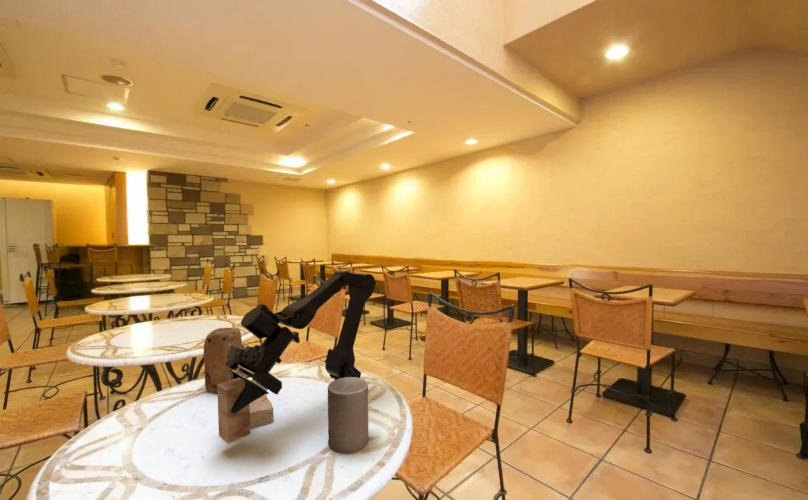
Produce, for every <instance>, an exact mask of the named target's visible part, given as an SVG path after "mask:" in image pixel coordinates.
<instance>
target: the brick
mask: <svg viewBox="0 0 808 500" xmlns="http://www.w3.org/2000/svg"><path fill="white" fill-rule="evenodd" d="M272 423H274V407H273V404H272V402H271V401H270V399H269V398H268V394H265V395H263V396H262V397H260V398H258V399H256V400H255V401H253V402H252V403H250V430H252V429H254V428H258V427H262V426H266V425H270V424H272Z"/></svg>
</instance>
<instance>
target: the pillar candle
mask: <svg viewBox="0 0 808 500" xmlns="http://www.w3.org/2000/svg"><path fill="white" fill-rule="evenodd" d="M327 423H328V426H327V427H328V430H327V434H328V439H327V445H328V447H329V449H331V450H332V451H334V452H336V453H338V454H339V453H340V454H351V453H355V452H358V451H360V450H362V449H364V448H365V447H366V446H367V444H368V443H369V442H368V441H369V383H368V382H367V380H366V379H365V378H361V377H360V378H357V377H345V378H340V379H337V380H335V379H334V380H332V381H331V382H330V383H329V384H328V385H327Z"/></svg>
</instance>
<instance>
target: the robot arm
mask: <svg viewBox="0 0 808 500" xmlns="http://www.w3.org/2000/svg"><path fill="white" fill-rule="evenodd" d="M376 284H377V280H376V279H375V277H374V275H373V274H372V273H371V274H370V273H358V272H356V273H352V272H349V271H345V270H344V271H343V270H337V271H335V272H334V273H333V274H332V275H331V277H329V278H328V279H326V280H325V281H324V282H323V283H321V285H319V286H317V288H316V289H314V290H313V291H312V292H311V293H309V294H308V295H306V296H305V297H304V298H301V299H299V300H296V301H293V302H292V303H290V304H288V305H286V306H285V307H284V308H283V309H281V311H277V312H275V313H274V312H272V310H270V309H269V307H268V306H267V305H266V304H264V303H259V304H258V305H257V306H256V307H253V308H252V309H251V310H249V311H248V312H246V313H245V315H244V316H242V319H241V320H240V326H241V327H243V328H244V329H245V330H247V331H248V332H249V333H251V334H252V335H253V336H255V338H258V339H259V340H261V339H264V340H263V341H262V342H261V344H260V345H259V344H255V345H254V346H249V345H246V346H245V347H243V346H242V347H239V346H235V345H231V347H230V349H229V352H228V354H227V356H226V359H229V360H228V361H227V363H226V364H225V365H226V366H227V367H229V368H231V369H232V370H230V369H229V372H230V378H231V380H233V379H236V378H241V379H243V380H245V388H244V390H243V391H242V393H241V394H240V396H239V398H238V399H237V401H236V402H235V404H234V406H233V408H232V410H231V412H232V413H236V412H238V411H239V410H241V409H242V408H244V407H245V406H247V405H248V404H250V403H252V402H253V401H255V400H256V399H258V398H260V397H262V396H263V395H265V394H266V395H269V394H270V392H271V393H272V394H274V395H276V396H278V395H279V393H280V391H281V390H282V388H283V382H282V380H280V379H279V378H277V377H276V376H274V375H273V374H271V373H270V372H271V371H272V369H273V368H274V366H275V365H276V364H281V362H282V361H283V359H282V358H281V356H282V355H283V354H284V352H285V351H286V349H287V348H288V347H289V345H290V344H291V342H293V343H295V344H300V342H301V340H300V337H299V336H300V332H298V331H296V330H295V331H294V330H293V331H292V330H291V329H290V328H293V329H297V330H303V329H305V328H307V327H308V326H309V324H310V323H311V322H312V321H313V319H314V318H315V317H316V313H317V312H318V310H319V309H320V308H321V307H322V306H324V304H325V303H327V302H328V301H329V300H330V299H331V298H333V297H334V296H335V295H336V294H338V292H339V291H340V290H342V289H343V288H344V287H346V286H348V288H347V292H348V297H349V301H348V305H347V309H346V312H345V315H344V319H343V322H342V326H341V330H340V333H339V337H338V341H337V343H336V345H335V346H334V347H333V349H332V348H329V349H328V350H327V355H326V357H325V360H324V363H325V367H324V369H325V370H326V373H328V375H329V377H330V379H334V380H337V379H340V378H345V377H357V378H361V375H362V372H361V371H360V370H358V369H357V368H356V367H355V363H356V356H355V351H354V345H355V341H356V338H357V334H358V329H359V327H360V323H361V320H362V315H363V311H364V308H365V304H366V302H367V301H368V300H369V299H370V298H371V296H373V294H374V293H373V292H374V290H375V288H376ZM280 325H284V326H280ZM250 378H251V380H250ZM268 390H269V391H270V392H269V391H268Z"/></svg>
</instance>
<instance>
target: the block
mask: <svg viewBox="0 0 808 500" xmlns="http://www.w3.org/2000/svg"><path fill="white" fill-rule="evenodd" d="M206 335H207V336H206V337H205V340H204V342H203V343H204V344H203V367H204V370H205V371H204V387H205V390H206V391H207V392H211V393H217V384H220V383H224V382H227V381H230V380H231V378H230V372H229V369H230V370H232V369H231V368H229V367H227V366H226V365H225V364H226V363H227V361H228V360H229V359H226V356H227V354H228V352H229V349H230V347H231V345H235V346H239V347H243V341H242V333H241V329H240V328H236V327H235V328H232V327H218V328H216V329H213V330H212V331H210V332H209V333H208V334H206ZM217 394H218V393H217Z"/></svg>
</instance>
